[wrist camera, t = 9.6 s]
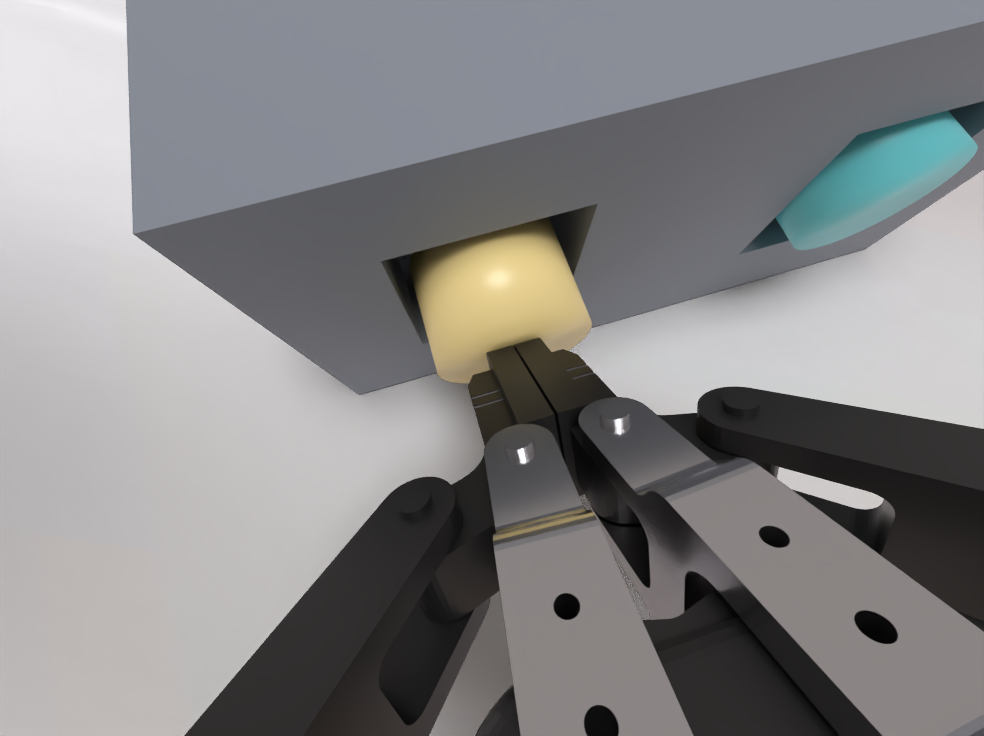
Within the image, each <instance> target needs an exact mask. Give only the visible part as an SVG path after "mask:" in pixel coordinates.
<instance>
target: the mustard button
mask: <svg viewBox="0 0 984 736" xmlns="http://www.w3.org/2000/svg"><path fill="white" fill-rule="evenodd" d="M409 269H410V274H411V277H412V281H413V285H414V289H415V292H416V296H417V300H418V303H419V307H420V311H421V314H422V318H423V322H424V326H425V329H426V333H427V337H428V340H429V344H430V348H431V352H432V355H433V359H434V363H435V366H436V370H437V374H438V376H439V377H440V378H441V379H443V380H445V381H448V382H452V383H470V380H471V378H472V376H473V375H474V374H478V373H481V372H485V371H488V370H490V368H489V364H488V360H487V355H486V353H487V352H490V351H494V350H497V349H501V348H504V347H508V346H511V345H512V346H513V347H514V345H515V344H518V343H522V342H525V341H529V340H532V339H536V338H541V340H542V341H543V342H544V343H545V345H546V346H547V347H548V348H549V349H550V351H551V352H554V351H558V350H561V349H564V350H567V351H569V350H570V349H572V348H573V347H574V346H576V345H577V344H578V343H580V342H581V341H582V340H583V339H584V338H585V337H586V336H587V335H588V333H589V332H590V330H591V327H592V322H591V319H590V316H589V314H588V311H587V309H586V307H585V304H584V302H583V299H582V297H581V294H580V292H579V289H578V287H577V285H576V282H575V280H574V277H573V275H572V272H571V270H570V268H569V265H568V263H567V260H566V258H565V255H564V253H563V250H562V248H561V246H560V243H559V241H558V238H557V236H556V233H555V231H554V228H553V226H552V224H551V221H550V219H549V218H548V217H546V218H542V219H538V220H535V221H531V222H527V223H523V224H520V225H516V226H512V227H508V228H505V229H501V230H497V231H493V232H490V233H486V234H482V235H478V236H474V237H471V238H467V239H463V240H459V241H456V242H452V243H448V244H444V245H441V246H437V247H433V248H429V249H426V250H422V251H418V252H414V253H412V255H411V258H410V263H409Z"/></svg>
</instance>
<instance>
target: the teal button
mask: <svg viewBox="0 0 984 736" xmlns="http://www.w3.org/2000/svg"><path fill="white" fill-rule="evenodd" d="M977 149H978V146H977V144H976V143H975V141H974V140H973V139H972V138H971V137H970V136H969V134H968V133H967V132H966V131H965V130H964V128H963V127H962V126H961V125H960V124H959V123H958V121H957V120H956V119H955V118H954V117H953V116H952V114H951V113H950V112H949V111H944V112H940V113H936V114H933V115H929V116H925V117H921V118H918V119H914V120H910V121H906V122H903V123H899V124H895V125H891V126H888V127H884V128H880V129H876V130H873V131H869V132H865V133H861V134H858V135H857V136H856V137H855V138H854V139H853V140H852V141H851V142H850V143H849V144H848V145H847V146H846V147H845V148H844V149H843V150H842V151H841V152H840V153H839V154H838V155H837V156H836V157H835V158H834V159H833V160H832V161H831V162H830V163H829V164H828V165H827V166H826V167H825V168H824V169H823V170H822V171H821V172H820V173H819V174H818V175H817V176H816V177H815V178H814V179H813V180H812V181H811V182H810V183H809V184H808V185H807V186H806V187H805V188H804V189H803V190H802V191H801V192H800V193H799V194H798V195H797V196H796V197H795V198H794V199H793V200H792V201H791V202H790V203H789V204H788V205H787V206H786V207H785V208H784V209H783V210H782V211H781V212H780V213H779V214H778V215H777V216H776V217H775V218H776V219H777V221H778V223H779V224H780V226H781V228H782V229H783V231H784V232H785V234H786V236H787V237H788V239H789V241H790V242H791V244H792V245H793V247H794V248H795V249H797V250H808V249H814V248H818V247H821V246H825V245H828V244H831V243H833V242H836V241H839V240H841V239H844V238H846V237H849V236H851V235H853V234H856V233H858V232H860V231H862V230H864V229H866V228H868V227H870V226H872V225H875V224H876V223H878V222H880V221H882V220H884V219H886V218H888V217H890V216H892V215H893V214H895V213H897V212H899V211H901V210H902V209H904V208H906V207H908V206H909V205H911V204H912V203H914V202H916V201H917V200H919V199H921V198H922V197H924V196H925V195H927V194H928V193H930V192H931V191H933V190H934V189H936V188H937V187H939V186H940V185H941V184H943V183H944V182H946V181H947V180H948V179H950V178H951V177H952V176H953V175H955V174H956V173H957V172H958V171H959V170H961V169H962V168H963V167H964V166H965V165H966V164H967V163H968V162H969V161H970V160H971V159H972V158H973V156H974V155H975V153H976V152H977Z"/></svg>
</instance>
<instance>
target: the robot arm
mask: <svg viewBox="0 0 984 736" xmlns="http://www.w3.org/2000/svg"><path fill="white" fill-rule="evenodd" d="M486 355H487V360H488V364H489V368H490V370H488V371H485V372H481V373H478V374H474V375H473V376H472V378H471V380H470V383H469V385H468V389H469V392H470V396H471V399H472V403H473V406H474V410H475V413H476V417H477V420H478V424H479V427H480V431H481V434H482V438H483V441H484V445H485V449H484V456H483V459H482V461H481V462H480V464H479V465H478V466H477V467H476V468H475V469H474V471H472V472H471V473H470V474H469V475H467V476H466V477H464V478H463V479H461V480H459V481H458V482H456V483H454V484H453V485H450V484H449V483H448V482H447V481H445V480H443V479H441V478H437V477H422V478H418V479H414V480H411V481H409V482H407V483H405V484H403V485H401V486H400V487H398V488H397V489H395V490H394V491H393V492H392V493H390V494H389V496H388V497H387V498H386V499H385V500H384V501H383V502H382V503H381V505H380V506H379V507H378V508H377V509H376V511H375V512H374V513H373V514H372V515H371V516H370V518H369V519H368V520H367V521H366V522H365V524H364V525H363V526H362V527H361V528H360V529H359V531H358V532H357V533H356V534H355V535H354V536H353V538H352V539H351V540H350V541H349V542H348V544H347V545H346V546H345V547H344V548H343V549H342V551H341V552H340V553H339V554H338V555H337V557H336V558H335V559H334V560H333V561H332V562H331V564H330V565H329V566H328V567H327V568H326V569H325V571H324V572H323V573H322V574H321V575H320V577H319V578H318V579H317V580H316V581H315V582H314V584H313V585H312V586H311V587H310V588H309V590H308V591H307V592H306V593H305V594H304V595H303V597H302V598H301V599H300V600H299V601H298V602H297V604H296V605H295V606H294V607H293V608H292V610H291V611H290V612H289V613H288V614H287V615H286V617H285V618H284V619H283V620H282V621H281V623H280V624H279V625H278V626H277V627H276V628H275V630H274V631H273V632H272V633H271V634H270V635H269V637H268V638H267V639H266V640H265V641H264V643H263V644H262V645H261V646H260V647H259V648H258V650H257V651H256V652H255V653H254V654H253V656H252V657H251V658H250V659H249V660H248V661H247V663H246V664H245V665H244V666H243V667H242V668H241V670H240V671H239V672H238V673H237V674H236V676H235V677H234V678H233V679H232V680H231V681H230V683H229V684H228V685H227V686H226V687H225V689H224V690H223V691H222V692H221V693H220V694H219V696H218V697H217V698H216V699H215V700H214V701H213V703H212V704H211V705H210V706H209V707H208V709H207V710H206V711H205V712H204V713H203V714H202V716H201V717H200V718H199V719H198V720H197V722H196V723H195V724H194V725H193V726H192V727H191V729H190V730H189V731H188V732H187V733H186V734H185V736H429V734H430V732H431V730H432V728H433V726H434V724H435V721H436V719H437V717H438V715H439V713H440V711H441V709H442V707H443V704H444V702H445V700H446V698H447V696H448V694H449V692H450V689H451V687H452V685H453V683H454V681H455V679H456V677H457V675H458V672H459V670H460V668H461V666H462V664H463V662H464V660H465V658H466V655H467V653H468V651H469V649H470V647H471V645H472V643H473V641H474V638H475V636H476V634H477V632H478V630H479V628H480V626H481V624H482V621H483V619H484V617H485V615H486V613H487V610H488V608H489V603H490V597H491V596H492V595H494V594H495V593H496V592H498V591H499V590H500V595H501V602H502V609H503V616H504V623H505V630H506V637H507V644H508V651H509V658H510V665H511V672H512V679H513V685H512V686H511V687H510V688H509V689H508V690H507V691H506V692H505V693H504V694H503V696H502V697H501V698H500V699H499V701H498V702H497V703H496V704H495V705H494V707H493V708H492V709H491V711H490V712H489V714H488V715H487V717H486V718H485V720H484V721H483V723H482V725H481V726H480V728H479V729H478V731H477V733H476V735H475V736H984V429H980V428H974V427H969V426H963V425H957V424H952V423H946V422H940V421H935V420H929V419H923V418H918V417H912V416H906V415H901V414H895V413H889V412H883V411H878V410H872V409H866V408H861V407H855V406H849V405H844V404H838V403H832V402H827V401H821V400H815V399H810V398H804V397H798V396H792V395H787V394H781V393H775V392H770V391H764V390H758V389H753V388H746V387H723V388H718V389H714V390H711V391H709V392H707V393H705V394H704V395H703V396H702V397H701V398H700V399H699V401H698V408H697V413H690V414H677V415H656V414H655V413H654V412H653V411H652V410H650V409H649V408H648V407H647V406H645V405H644V404H643V403H641V402H639V401H636V400H633V399H629V398H622V397H617V396H616V395H615V394H614V393H613V392H612V391H611V390H610V389H609V388H608V387H607V386H606V384H605V383H604V382H603V381H602V380H601V379H600V378H599V377H598V376H597V375H596V374H595V373H593V371H592V370H591V368H590V367H589V366H587V365H586V363H585V362H584V361H583V360H582V359H581V358H580V357H579V356H578V355H577V354H575V353H572V352H569V351H567V350H564V349H561V350H558V351H554V352H551V351H550V349H549V348H548V347H547V346H546V345H545V343H544V342H543V341H542V340H541V338H536V339H532V340H529V341H525V342H522V343H518V344H515V345H514V347H513V346H512V345H511V346H508V347H504V348H501V349H497V350H494V351H490V352H487V353H486ZM779 467H782V468H785V469H789V470H793V471H796V472H800V473H803V474H807V475H811V476H814V477H818V478H822V479H825V480H829V481H833V482H836V483H840V484H844V485H847V486H851V487H854V488H858V489H862V490H865V491H869V492H872V493H874V494H876V495H879V496H880V497H882V498H884V500H883V503H882V504H881V505H880V506H879V507H877V508H874V509H867V510H863V509H856V508H852V507H848V506H845V505H842V504H838V503H835V502H832V501H828V500H825V499H822V498H818V497H815V496H812V495H808V494H805V493H802V492H798V491H795V490H792V489H790V488H789V487H787V486H786V485H785V484H783V483H782V482H781V481H779V480H778V479H777V475H778V469H779ZM583 494H585V495H586V497H587V499H588V501H589V503H590V507H591V510H587V511H585V509H584V506H583V504H582V502H581V499H580V497H579V496H580V495H583ZM612 553H613V554H612ZM613 555H614V556H615V558H616V559H617V561H618V562H619V564H620V566H621V567H622V569H623V570H624V572H625V573H626V575H627V576H628V578H629V580H630V581H631V583H632V584H633V586H634V587H635V589H636V590H637V592H638V594H639V595H640V597H641V598H642V600H643V602H644V604H645V606H646V608H647V610H648V612H649V615H650V618H651V620H642V619H641V617H640V614H639V612H638V610H637V608H636V605H635V603H634V601H633V599H632V596H631V594H630V592H629V590H628V587H627V585H626V583H625V581H624V578H623V576H622V574H621V572H620V569H619V567H618V565H617V563H616V560H615V558H614V556H613Z"/></svg>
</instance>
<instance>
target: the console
mask: <svg viewBox="0 0 984 736" xmlns="http://www.w3.org/2000/svg"><path fill="white" fill-rule="evenodd" d="M126 16H127V48H128V81H129V114H130V146H131V179H132V211H133V234H134V235H135V236H137V237H138V238H140V239H141V240H142V241H144V242H145V243H147V244H148V245H149V246H151V247H152V248H154V249H155V250H156V251H158V252H159V253H161V254H162V255H163V256H165V257H166V258H168V259H169V260H170V261H172V262H173V263H175V264H176V265H177V266H179V267H180V268H182V269H183V270H185V271H186V272H187V273H189V274H190V275H192V276H193V277H194V278H196V279H197V280H199V281H200V282H201V283H203V284H204V285H206V286H207V287H208V288H210V289H211V290H213V291H214V292H215V293H217V294H218V295H220V296H221V297H222V298H224V299H225V300H227V301H228V302H229V303H231V304H232V305H234V306H235V307H237V308H238V309H239V310H241V311H242V312H244V313H245V314H246V315H248V316H249V317H251V318H252V319H253V320H255V321H256V322H258V323H259V324H260V325H262V326H263V327H265V328H266V329H267V330H269V331H270V332H272V333H273V334H274V335H276V336H277V337H279V338H280V339H282V340H283V341H284V342H286V343H287V344H289V345H290V346H291V347H293V348H294V349H296V350H297V351H298V352H300V353H301V354H303V355H304V356H305V357H307V358H308V359H310V360H311V361H312V362H314V363H315V364H317V365H318V366H319V367H321V368H322V369H324V370H325V371H327V372H328V373H329V374H331V375H332V376H334V377H335V378H336V379H338V380H339V381H341V382H342V383H343V384H345V385H346V386H348V387H349V388H350V389H352V390H353V391H355V392H356V393H357V394H359V395H361V394H365V393H368V392H371V391H375V390H378V389H382V388H385V387H389V386H392V385H396V384H399V383H403V382H406V381H410V380H413V379H416V378H420V377H423V376H427V375H430V374H434V373H437V370H436V366H435V363H434V359H433V355H432V352H431V348H430V344H429V340H428V337H427V333H426V329H425V326H424V322H423V318H422V314H421V311H420V307H419V303H418V300H417V296H416V292H415V289H414V285H413V281H412V277H411V274H410V269H409V263H410V258H411V255H412V253H414V252H418V251H422V250H426V249H429V248H433V247H437V246H441V245H444V244H448V243H452V242H456V241H459V240H463V239H467V238H471V237H474V236H478V235H482V234H486V233H490V232H493V231H497V230H501V229H505V228H508V227H512V226H516V225H520V224H523V223H527V222H531V221H535V220H538V219H542V218H546V217H548V218H549V219H550V221H551V224H552V226H553V228H554V231H555V233H556V236H557V238H558V241H559V243H560V246H561V248H562V250H563V253H564V255H565V258H566V260H567V263H568V265H569V268H570V270H571V272H572V275H573V277H574V280H575V282H576V285H577V287H578V289H579V292H580V294H581V297H582V299H583V302H584V304H585V307H586V309H587V311H588V314H589V316H590V319H591V322H592V327H591V328H593V327H596V326H600V325H603V324H607V323H610V322H614V321H617V320H621V319H624V318H628V317H631V316H634V315H638V314H641V313H645V312H648V311H652V310H655V309H659V308H662V307H666V306H669V305H673V304H676V303H679V302H683V301H686V300H690V299H693V298H697V297H700V296H704V295H707V294H711V293H714V292H718V291H721V290H724V289H728V288H731V287H735V286H738V285H742V284H745V283H749V282H752V281H756V280H759V279H763V278H766V277H769V276H773V275H776V274H780V273H783V272H787V271H790V270H794V269H797V268H801V267H804V266H808V265H811V264H814V263H818V262H821V261H825V260H828V259H832V258H835V257H839V256H842V255H846V254H849V253H852V252H856V251H859V250H863V249H866V248H868V247H869V246H870V245H872V244H873V243H875V242H876V241H878V240H879V239H881V238H882V237H884V236H885V235H887V234H888V233H890V232H891V231H893V230H894V229H896V228H897V227H899V226H900V225H902V224H903V223H905V222H906V221H908V220H909V219H911V218H912V217H914V216H915V215H917V214H918V213H920V212H921V211H923V210H924V209H926V208H927V207H929V206H930V205H932V204H933V203H935V202H936V201H938V200H939V199H941V198H942V197H944V196H945V195H946V194H948V193H949V192H951V191H952V190H954V189H955V188H957V187H958V186H960V185H961V184H963V183H964V182H966V181H967V180H969V179H970V178H972V177H973V176H975V175H976V174H978V173H979V172H981V171H982V170H984V0H126ZM944 111H949V112H950V113H951V114H952V116H953V117H954V118H955V119H956V120H957V121H958V123H959V124H960V125H961V126H962V127H963V128H964V130H965V131H966V132H967V133H968V134H969V136H970V137H971V138H972V139H973V140H974V141H975V143H976V144H977V146H978V149H977V152H976V153H975V155H974V156H973V158H972V159H971V160H970V161H969V162H968V163H967V164H966V165H965V166H964V167H963V168H962V169H961V170H959V171H958V172H957V173H956V174H955V175H953V176H952V177H951V178H950V179H948V180H947V181H946V182H944V183H943V184H941V185H940V186H939V187H937V188H936V189H934V190H933V191H931V192H930V193H928V194H927V195H925V196H924V197H922V198H921V199H919V200H917V201H916V202H914V203H912V204H911V205H909V206H908V207H906V208H904V209H902V210H901V211H899V212H897V213H895V214H893V215H892V216H890V217H888V218H886V219H884V220H882V221H880V222H878V223H876V224H875V225H872V226H870V227H868V228H866V229H864V230H862V231H860V232H858V233H856V234H853V235H851V236H849V237H846V238H844V239H841V240H839V241H836V242H833V243H831V244H828V245H825V246H821V247H818V248H814V249H808V250H797V249H795V248H794V247H793V245H792V244H791V242H790V241H789V239H788V237H787V236H786V234H785V232H784V231H783V229H782V228H781V226H780V224H779V223H778V221H777V219H776V218H775V217H776V216H777V215H778V214H779V213H780V212H781V211H782V210H783V209H784V208H785V207H786V206H787V205H788V204H789V203H790V202H791V201H792V200H793V199H794V198H795V197H796V196H797V195H798V194H799V193H800V192H801V191H802V190H803V189H804V188H805V187H806V186H807V185H808V184H809V183H810V182H811V181H812V180H813V179H814V178H815V177H816V176H817V175H818V174H819V173H820V172H821V171H822V170H823V169H824V168H825V167H826V166H827V165H828V164H829V163H830V162H831V161H832V160H833V159H834V158H835V157H836V156H837V155H838V154H839V153H840V152H841V151H842V150H843V149H844V148H845V147H846V146H847V145H848V144H849V143H850V142H851V141H852V140H853V139H854V138H855V137H856V136H857V135H858V134H861V133H865V132H869V131H873V130H876V129H880V128H884V127H888V126H891V125H895V124H899V123H903V122H906V121H910V120H914V119H918V118H921V117H925V116H929V115H933V114H936V113H940V112H944Z"/></svg>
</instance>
